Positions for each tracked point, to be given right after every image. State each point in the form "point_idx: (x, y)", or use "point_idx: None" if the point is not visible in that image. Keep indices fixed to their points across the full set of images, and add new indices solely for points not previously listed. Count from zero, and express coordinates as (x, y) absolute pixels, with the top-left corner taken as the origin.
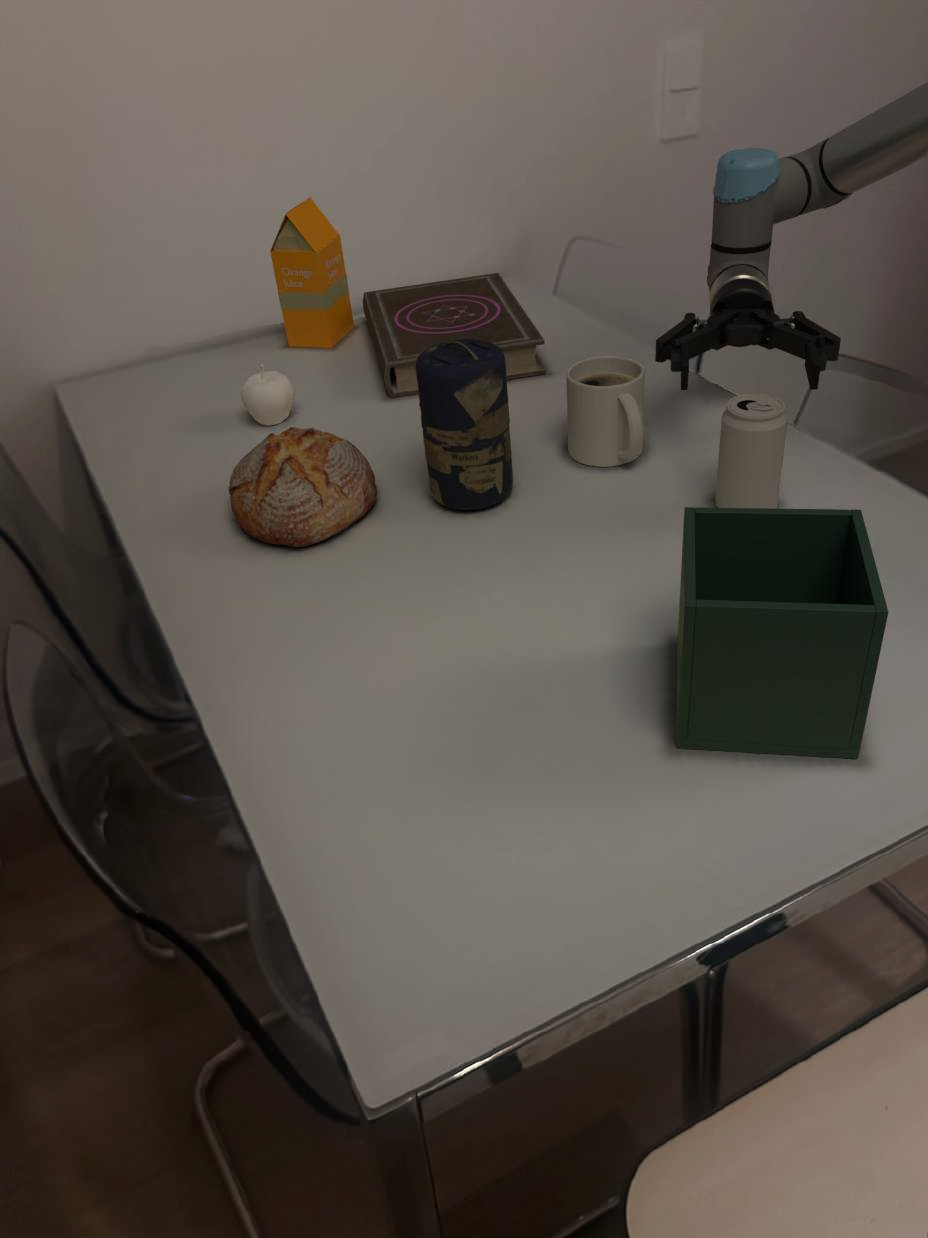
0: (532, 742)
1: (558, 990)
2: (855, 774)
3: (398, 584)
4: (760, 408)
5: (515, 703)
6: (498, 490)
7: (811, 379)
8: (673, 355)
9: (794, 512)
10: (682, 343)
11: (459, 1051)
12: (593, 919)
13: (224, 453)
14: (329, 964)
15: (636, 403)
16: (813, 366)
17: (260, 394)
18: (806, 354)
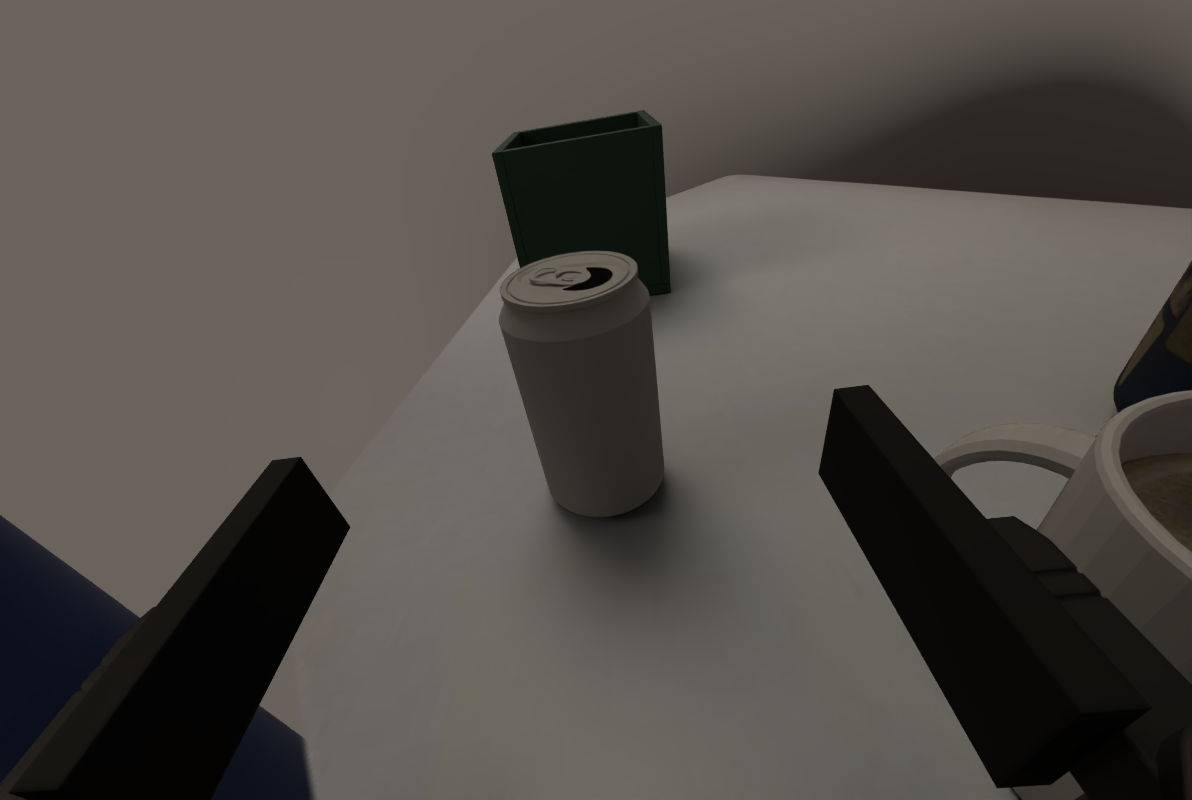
0: (750, 232)
1: (682, 194)
2: None
3: (1040, 282)
4: (559, 268)
5: (781, 241)
6: (1123, 374)
7: (329, 503)
8: (1073, 584)
9: (554, 141)
10: (1177, 759)
11: (711, 182)
12: (676, 205)
13: None
14: (781, 179)
15: (993, 447)
16: (302, 459)
17: None
18: (148, 783)
